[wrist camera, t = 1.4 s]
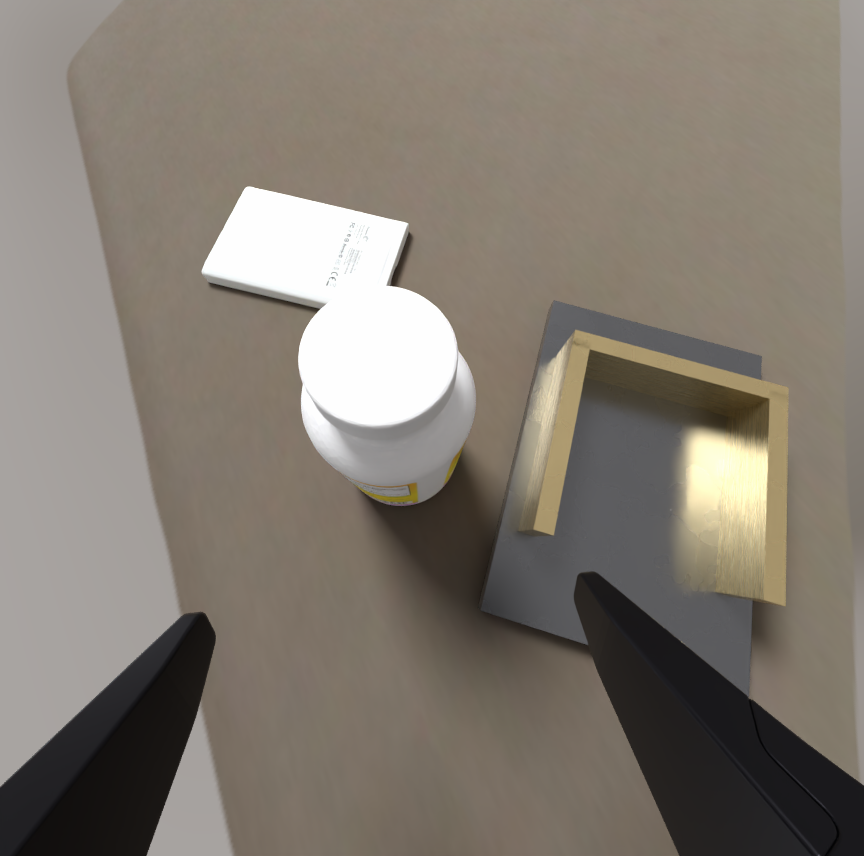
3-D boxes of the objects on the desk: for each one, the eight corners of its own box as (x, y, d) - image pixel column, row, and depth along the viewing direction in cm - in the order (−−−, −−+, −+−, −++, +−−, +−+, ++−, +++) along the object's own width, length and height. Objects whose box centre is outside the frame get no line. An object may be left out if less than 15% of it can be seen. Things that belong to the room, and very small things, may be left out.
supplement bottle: (424, 385, 24) (428, 227, 12) (475, 474, 23) (539, 395, 11) (329, 431, 23) (229, 308, 11) (376, 528, 22) (319, 509, 9)
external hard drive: (256, 202, 29) (409, 237, 29) (212, 287, 27) (378, 327, 26) (246, 183, 28) (408, 219, 27) (199, 272, 25) (375, 313, 25)
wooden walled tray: (733, 689, 20) (807, 724, 16) (477, 607, 21) (491, 622, 17) (748, 363, 26) (806, 331, 22) (549, 309, 26) (570, 269, 23)
